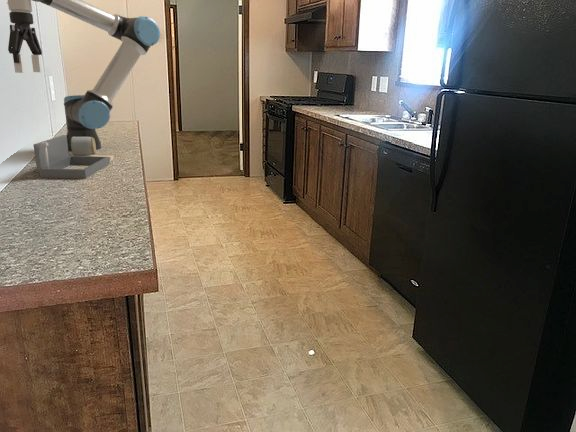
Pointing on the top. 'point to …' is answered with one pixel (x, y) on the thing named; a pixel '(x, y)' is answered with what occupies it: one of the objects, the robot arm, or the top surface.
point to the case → (64, 160)
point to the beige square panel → (105, 155)
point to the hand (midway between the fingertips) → (28, 72)
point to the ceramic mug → (83, 146)
